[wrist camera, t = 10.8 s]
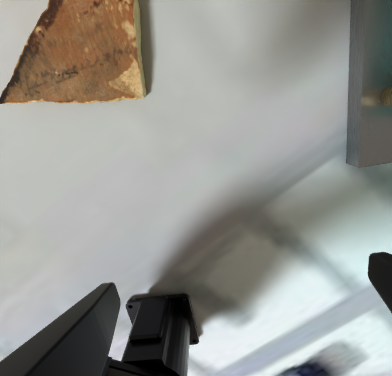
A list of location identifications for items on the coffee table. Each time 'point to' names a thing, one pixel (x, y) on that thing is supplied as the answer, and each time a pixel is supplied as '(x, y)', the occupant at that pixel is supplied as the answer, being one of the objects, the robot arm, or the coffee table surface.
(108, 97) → the shard
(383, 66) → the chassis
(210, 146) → the coffee table surface
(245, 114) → the coffee table surface
